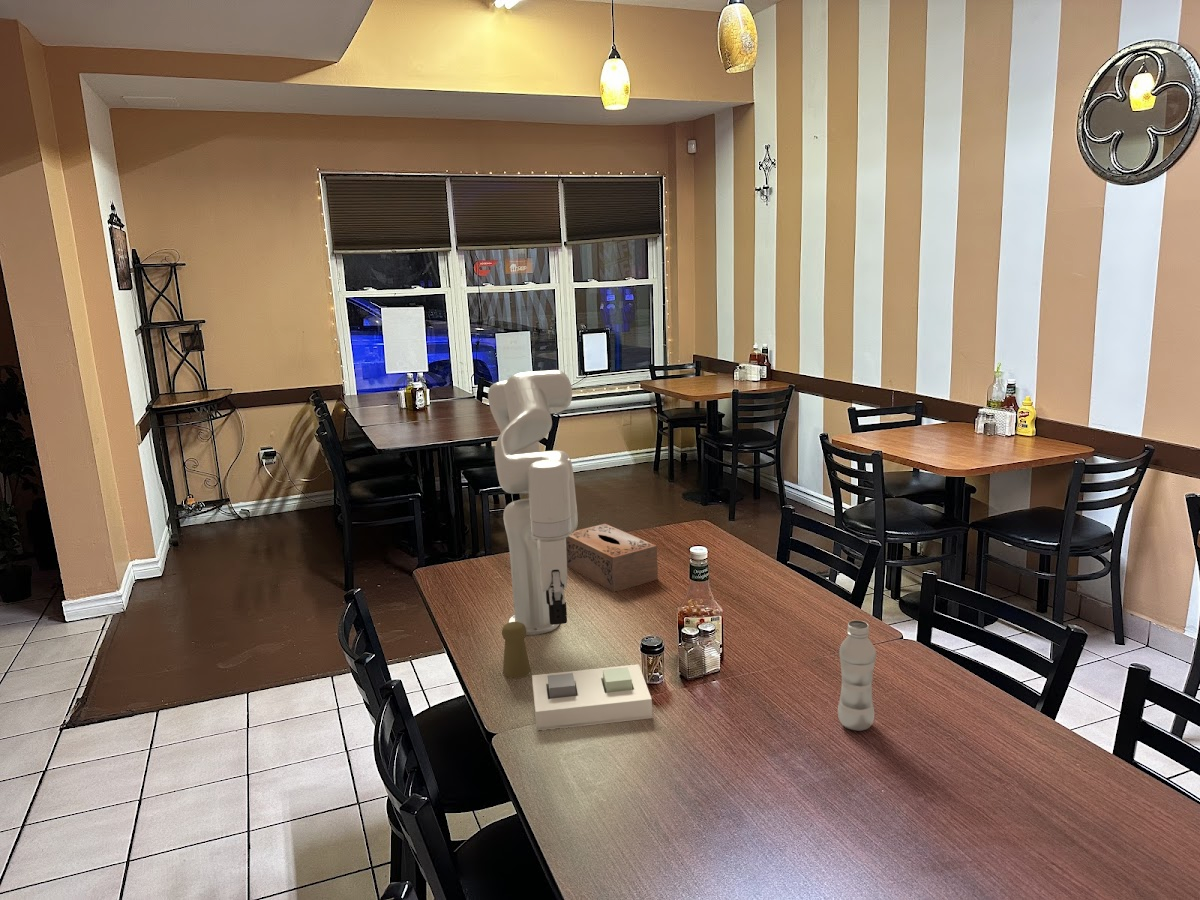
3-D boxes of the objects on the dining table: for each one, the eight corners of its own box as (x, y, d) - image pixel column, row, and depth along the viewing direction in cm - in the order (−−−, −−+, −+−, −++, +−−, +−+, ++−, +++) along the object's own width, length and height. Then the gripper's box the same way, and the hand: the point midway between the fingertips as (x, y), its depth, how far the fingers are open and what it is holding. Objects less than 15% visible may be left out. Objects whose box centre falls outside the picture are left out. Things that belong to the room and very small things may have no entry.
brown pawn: (526, 679, 169) (523, 631, 167) (499, 677, 170) (495, 629, 168) (534, 665, 175) (531, 618, 172) (508, 664, 176) (504, 617, 174)
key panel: (533, 693, 163) (531, 675, 162) (639, 681, 166) (638, 664, 165) (536, 731, 150) (535, 711, 149) (652, 718, 152) (651, 698, 151)
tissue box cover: (657, 580, 220) (656, 545, 218) (614, 593, 213) (613, 557, 211) (606, 555, 242) (605, 523, 240) (565, 566, 234) (563, 533, 232)
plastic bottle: (874, 718, 149) (877, 618, 145) (873, 738, 143) (877, 634, 138) (838, 713, 151) (840, 614, 147) (836, 732, 145) (838, 630, 140)
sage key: (603, 683, 160) (602, 669, 159) (628, 680, 160) (627, 667, 160) (606, 696, 155) (606, 682, 154) (632, 693, 156) (631, 679, 155)
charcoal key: (548, 689, 159) (547, 675, 158) (573, 686, 159) (572, 672, 159) (550, 702, 154) (549, 688, 153) (576, 699, 154) (575, 685, 154)
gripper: (529, 514, 157) (534, 597, 161) (533, 543, 140) (539, 634, 144) (567, 511, 158) (572, 593, 161) (575, 539, 141) (580, 630, 145)
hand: (556, 612), depth 153 cm, fingers open, 8 cm apart
